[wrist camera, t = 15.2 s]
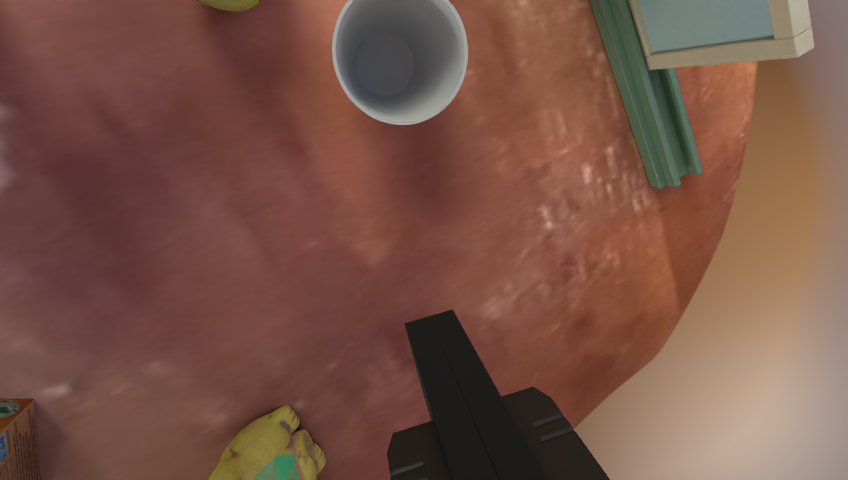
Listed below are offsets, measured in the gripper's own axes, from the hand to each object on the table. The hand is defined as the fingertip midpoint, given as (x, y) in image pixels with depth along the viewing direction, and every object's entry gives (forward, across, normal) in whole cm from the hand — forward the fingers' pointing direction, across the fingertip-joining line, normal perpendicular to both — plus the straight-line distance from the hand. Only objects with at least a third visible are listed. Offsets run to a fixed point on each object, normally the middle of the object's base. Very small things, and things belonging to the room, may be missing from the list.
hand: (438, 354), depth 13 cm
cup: (+27, +4, +9) cm, 28 cm away
